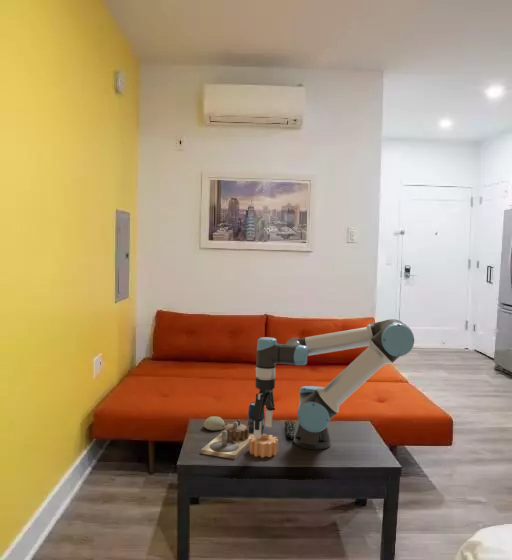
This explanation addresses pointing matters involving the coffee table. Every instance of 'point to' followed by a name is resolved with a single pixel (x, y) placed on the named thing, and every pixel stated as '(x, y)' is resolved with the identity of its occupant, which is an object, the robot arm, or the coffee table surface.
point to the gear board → (229, 441)
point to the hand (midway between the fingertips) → (263, 432)
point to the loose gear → (263, 445)
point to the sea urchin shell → (214, 423)
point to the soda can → (250, 415)
